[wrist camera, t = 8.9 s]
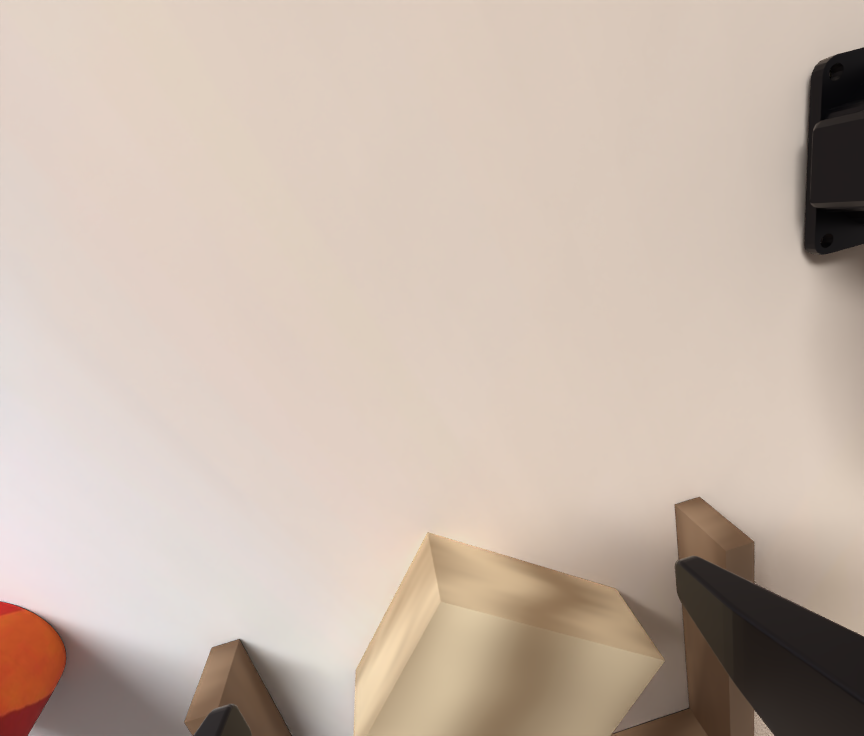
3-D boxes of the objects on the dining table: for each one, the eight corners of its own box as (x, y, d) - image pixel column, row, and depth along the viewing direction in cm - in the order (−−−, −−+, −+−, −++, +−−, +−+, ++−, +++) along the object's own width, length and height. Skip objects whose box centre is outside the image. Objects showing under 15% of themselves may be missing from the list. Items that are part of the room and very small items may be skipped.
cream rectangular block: (612, 583, 21) (665, 660, 18) (535, 701, 23) (567, 794, 19) (426, 526, 19) (441, 601, 15) (356, 663, 21) (352, 760, 17)
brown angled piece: (699, 496, 20) (754, 541, 17) (710, 715, 25) (753, 778, 22) (211, 647, 19) (184, 722, 16) (325, 845, 24) (319, 929, 21)
